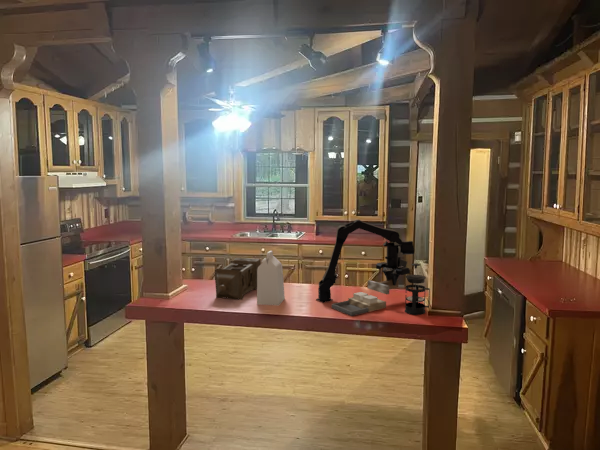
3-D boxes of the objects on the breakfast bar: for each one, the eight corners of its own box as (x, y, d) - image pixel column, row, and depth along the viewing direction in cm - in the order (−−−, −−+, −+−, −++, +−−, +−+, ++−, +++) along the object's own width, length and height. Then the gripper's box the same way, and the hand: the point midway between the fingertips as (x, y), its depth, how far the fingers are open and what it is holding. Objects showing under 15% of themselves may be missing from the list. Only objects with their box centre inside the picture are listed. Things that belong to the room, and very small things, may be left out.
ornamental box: (233, 310, 229) (236, 275, 225) (202, 303, 234) (205, 269, 231) (261, 290, 262) (264, 259, 258) (233, 284, 267) (235, 254, 263)
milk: (279, 305, 227) (277, 254, 224) (256, 304, 230) (255, 253, 226) (284, 298, 239) (283, 249, 235) (263, 297, 241) (262, 249, 238)
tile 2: (362, 301, 221) (362, 296, 221) (370, 299, 224) (370, 295, 223) (369, 304, 217) (369, 299, 217) (377, 302, 220) (377, 297, 219)
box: (331, 308, 222) (331, 304, 222) (348, 304, 227) (348, 300, 227) (351, 316, 209) (351, 312, 209) (368, 312, 215) (368, 307, 215)
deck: (348, 304, 227) (348, 298, 227) (365, 300, 233) (365, 294, 233) (368, 311, 215) (368, 305, 215) (385, 307, 221) (385, 301, 220)
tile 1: (353, 298, 227) (353, 293, 227) (361, 296, 230) (361, 291, 229) (360, 300, 223) (360, 295, 222) (367, 298, 225) (367, 294, 225)
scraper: (367, 288, 233) (367, 280, 232) (387, 284, 240) (387, 276, 239) (386, 294, 221) (386, 286, 220) (406, 289, 228) (406, 282, 228)
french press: (401, 313, 212) (402, 265, 209) (404, 307, 220) (405, 261, 217) (428, 316, 207) (429, 266, 204) (430, 310, 216) (431, 262, 213)
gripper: (417, 255, 227) (417, 286, 229) (391, 250, 242) (390, 278, 244) (401, 258, 221) (401, 289, 223) (375, 252, 236) (375, 282, 238)
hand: (392, 284), depth 232 cm, fingers closed on scraper, 2 cm apart
